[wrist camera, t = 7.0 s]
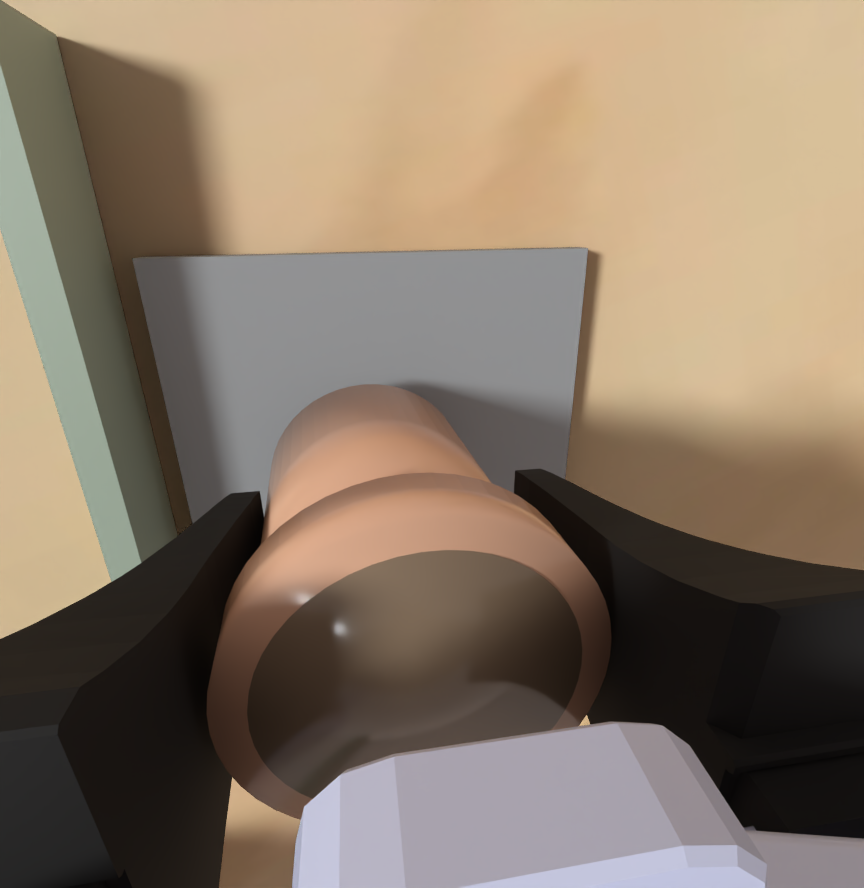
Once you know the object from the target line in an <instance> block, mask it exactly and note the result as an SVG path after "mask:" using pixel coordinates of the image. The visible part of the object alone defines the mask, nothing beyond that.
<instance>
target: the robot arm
mask: <svg viewBox="0 0 864 888" xmlns="http://www.w3.org/2000/svg"><path fill="white" fill-rule="evenodd" d="M514 494H516V495H518V496H520V497H521V498H522V499H524V500H525V501H527V502H528V503H529V504H531V505H532V506H533V507H535V508H536V509H537V510H538V511H539V512H540V513H541V514H542V515H543V516H544V517H545V518H546V519H547V520H548V521H549V522H550V523H551V524H552V526H553V527H554V528H555V529H556V531H557V532H558V533H559V534H560V536H561V537H562V538H563V539H564V540H565V542H566V543H567V544H568V545H569V547H570V548H571V549H572V550H573V552H574V553H575V554H576V555H577V557H578V558H579V559H580V560H581V562H582V563H583V564H584V565H585V566H586V568H587V569H588V571H589V572H590V573H591V575H592V576H593V578H594V579H595V581H596V582H597V583H598V586H599V588H600V590H601V592H602V594H603V597H604V599H605V601H606V605H607V609H608V613H609V617H610V624H611V637H612V639H611V650H610V658H609V663H608V667H607V671H606V675H605V678H604V680H603V683H602V685H601V688H600V691H599V693H598V695H597V697H596V699H595V701H594V703H593V704H592V706H591V708H590V710H589V712H588V713H587V716H588V719H589V721H590V724H591V725H584V726H577V727H571V728H564V729H557V730H551V731H544V732H537V733H531V734H524V735H517V736H510V737H504V738H497V739H490V740H484V741H477V742H470V743H464V744H457V745H450V746H444V747H437V748H430V749H424V750H417V751H410V752H403V753H397V754H392V755H389V756H386V757H383V758H380V759H377V760H374V761H371V762H368V763H365V764H362V765H359V766H356V767H353V768H350V769H347V770H346V771H344V772H343V773H342V774H341V775H339V776H338V777H337V778H336V779H335V780H334V781H333V782H332V783H330V784H329V785H328V786H327V787H326V788H325V789H324V790H322V791H321V792H320V793H319V794H318V795H317V796H316V797H315V798H313V799H312V800H311V801H310V802H309V803H308V804H307V805H305V806H304V809H303V813H302V818H301V822H300V826H299V830H298V834H297V838H296V844H295V856H294V869H293V881H292V888H864V570H856V569H849V568H842V567H834V566H827V565H819V564H812V563H806V562H801V561H796V560H791V559H785V558H780V557H775V556H770V555H765V554H761V553H756V552H752V551H748V550H743V549H739V548H736V547H732V546H728V545H724V544H721V543H717V542H713V541H710V540H706V539H703V538H700V537H696V536H693V535H690V534H687V533H684V532H681V531H679V530H676V529H673V528H670V527H667V526H664V525H662V524H659V523H656V522H654V521H651V520H649V519H646V518H644V517H642V516H639V515H637V514H635V513H633V512H630V511H628V510H626V509H623V508H621V507H619V506H617V505H615V504H613V503H611V502H608V501H606V500H604V499H602V498H600V497H598V496H596V495H594V494H592V493H590V492H588V491H586V490H585V489H583V488H581V487H579V486H577V485H575V484H573V483H571V482H569V481H567V480H565V479H563V478H561V477H559V476H557V475H555V474H553V473H551V472H548V471H546V470H543V469H527V470H515V479H514ZM263 523H264V514H263V508H262V501H261V495H260V491H253V492H240V493H231V494H229V495H228V496H226V497H225V498H223V499H222V500H221V501H220V502H218V503H217V504H216V505H215V506H214V507H212V508H211V509H210V510H209V511H208V512H206V513H205V514H204V515H203V516H202V517H200V518H199V519H198V520H197V521H195V522H194V523H193V524H192V525H191V526H189V527H188V528H187V529H186V530H184V531H183V532H182V533H181V534H179V535H178V536H177V537H176V538H174V539H173V540H172V541H170V542H169V543H168V544H166V545H165V546H163V547H162V548H161V549H159V550H158V551H157V552H155V553H154V554H153V555H151V556H150V557H149V558H147V559H146V560H144V561H143V562H142V563H140V564H139V565H137V566H136V567H134V568H133V569H131V570H130V571H128V572H127V573H125V574H124V575H122V576H121V577H119V578H117V579H116V580H114V581H112V582H111V583H109V584H107V585H106V586H104V587H102V588H101V589H99V590H98V591H96V592H94V593H92V594H91V595H89V596H87V597H85V598H83V599H81V600H79V601H78V602H76V603H74V604H72V605H70V606H68V607H66V608H64V609H62V610H60V611H58V612H56V613H54V614H52V615H50V616H48V617H47V618H45V619H43V620H41V621H39V622H37V623H35V624H33V625H31V626H28V627H26V628H24V629H22V630H20V631H17V632H15V633H13V634H11V635H9V636H6V637H4V638H2V639H0V888H219V879H220V871H221V862H222V853H223V844H224V836H225V827H226V819H227V811H228V804H229V796H230V789H231V781H232V776H231V775H230V773H229V772H228V771H227V770H226V768H225V766H224V765H223V763H222V761H221V760H220V758H219V757H218V755H217V753H216V750H215V747H214V745H213V742H212V739H211V737H210V733H209V727H208V720H207V714H206V713H207V690H208V686H209V681H210V676H211V671H212V666H213V661H214V656H215V652H216V647H217V642H218V637H219V632H220V627H221V623H222V618H223V614H224V609H225V605H226V602H227V600H228V597H229V595H230V592H231V590H232V587H233V585H234V583H235V581H236V579H237V578H238V576H239V574H240V573H241V571H242V569H243V567H244V566H245V564H246V563H247V561H248V560H249V559H250V558H251V556H252V555H253V554H254V553H255V551H256V550H257V549H258V548H259V546H260V545H261V538H262V530H263Z"/></svg>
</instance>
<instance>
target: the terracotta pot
mask: <svg viewBox="0 0 864 888" xmlns="http://www.w3.org/2000/svg"><path fill="white" fill-rule="evenodd" d="M611 639H612V637H611V624H610V617H609V613H608V609H607V605H606V601H605V599H604V597H603V594H602V592H601V590H600V588H599V586H598V583H597V582H596V581H595V579H594V578H593V576H592V575H591V573H590V572H589V571H588V569H587V568H586V566H585V565H584V564H583V563H582V562H581V560H580V559H579V558H578V557H577V555H576V554H575V553H574V552H573V550H572V549H571V548H570V547H569V545H568V544H567V543H566V542H565V540H564V539H563V538H562V537H561V536H560V534H559V533H558V532H557V531H556V529H555V528H554V527H553V526H552V524H551V523H550V522H549V521H548V520H547V519H546V518H545V517H544V516H543V515H542V514H541V513H540V512H539V511H538V510H537V509H536V508H535V507H533V506H532V505H531V504H529V503H528V502H527V501H525V500H524V499H522V498H521V497H520V496H518V495H516V494H514V493H512V492H510V491H508V490H506V489H504V488H502V487H500V486H498V485H495V484H492V483H491V481H490V480H489V479H488V477H487V476H486V474H485V473H484V472H483V470H482V469H481V467H480V466H479V464H478V463H477V462H476V460H475V459H474V457H473V456H472V455H471V453H470V452H469V450H468V449H467V447H466V446H465V445H464V443H463V442H462V440H461V439H460V438H459V436H458V435H457V433H456V432H455V431H454V429H453V428H452V426H451V425H450V423H449V422H448V421H447V419H446V418H445V417H444V415H443V414H442V413H441V412H440V411H439V410H438V409H437V408H436V407H435V406H433V405H432V404H431V403H429V402H428V401H427V400H425V399H424V398H422V397H420V396H418V395H417V394H415V393H412V392H410V391H407V390H405V389H402V388H398V387H393V386H388V385H380V384H363V385H356V386H350V387H346V388H342V389H339V390H336V391H333V392H331V393H328V394H326V395H324V396H322V397H320V398H319V399H317V400H315V401H313V402H312V403H311V404H309V405H308V406H307V407H305V408H304V409H303V410H302V411H301V412H300V413H299V414H298V415H296V416H295V417H294V418H293V420H292V421H291V422H290V423H289V425H288V426H287V427H286V429H285V430H284V432H283V434H282V435H281V437H280V439H279V441H278V443H277V446H276V449H275V451H274V455H273V459H272V464H271V471H270V479H269V486H268V493H267V501H266V508H265V515H264V523H263V530H262V538H261V545H260V546H259V548H258V549H257V550H256V551H255V553H254V554H253V555H252V556H251V558H250V559H249V560H248V561H247V563H246V564H245V566H244V567H243V569H242V571H241V573H240V574H239V576H238V578H237V579H236V581H235V583H234V585H233V587H232V590H231V592H230V595H229V597H228V600H227V602H226V605H225V609H224V614H223V618H222V623H221V627H220V632H219V637H218V642H217V647H216V652H215V656H214V661H213V666H212V671H211V676H210V681H209V686H208V690H207V713H206V714H207V720H208V727H209V733H210V737H211V739H212V742H213V745H214V747H215V750H216V753H217V755H218V757H219V758H220V760H221V761H222V763H223V765H224V766H225V768H226V770H227V771H228V772H229V773H230V775H231V776H232V777H233V778H234V779H235V780H236V781H237V783H238V784H239V785H240V786H241V787H242V788H244V789H245V790H246V791H247V792H249V793H250V794H251V795H252V796H254V797H255V798H256V799H258V800H259V801H261V802H263V803H264V804H266V805H268V806H270V807H271V808H273V809H275V810H277V811H280V812H282V813H284V814H287V815H289V816H292V817H294V818H297V819H301V818H302V813H303V809H304V806H305V805H307V804H308V803H309V802H310V801H311V800H312V799H313V798H315V797H316V796H317V795H318V794H319V793H320V792H321V791H322V790H324V789H325V788H326V787H327V786H328V785H329V784H330V783H332V782H333V781H334V780H335V779H336V778H337V777H338V776H339V775H341V774H342V773H343V772H344V771H346V770H347V769H350V768H353V767H356V766H359V765H362V764H365V763H368V762H371V761H374V760H377V759H380V758H383V757H386V756H389V755H392V754H397V753H403V752H410V751H417V750H424V749H430V748H437V747H444V746H450V745H457V744H464V743H470V742H477V741H484V740H490V739H497V738H504V737H510V736H517V735H524V734H531V733H537V732H544V731H551V730H557V729H564V728H571V727H577V726H579V725H580V723H581V722H582V720H583V719H584V717H585V716H586V715H587V713H588V712H589V710H590V708H591V706H592V704H593V703H594V701H595V699H596V697H597V695H598V693H599V691H600V688H601V685H602V683H603V680H604V678H605V675H606V671H607V667H608V663H609V658H610V650H611Z"/></svg>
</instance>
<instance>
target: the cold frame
mask: <svg viewBox="0 0 864 888" xmlns="http://www.w3.org/2000/svg"><path fill="white" fill-rule="evenodd" d="M0 230H1V233H2V236H3V239H4V243H5V246H6V249H7V252H8V255H9V258H10V262H11V265H12V268H13V271H14V274H15V277H16V281H17V284H18V287H19V290H20V293H21V296H22V300H23V303H24V306H25V309H26V312H27V316H28V319H29V322H30V325H31V328H32V331H33V335H34V338H35V341H36V344H37V347H38V350H39V354H40V357H41V360H42V363H43V366H44V369H45V373H46V376H47V379H48V382H49V385H50V388H51V392H52V395H53V398H54V401H55V404H56V407H57V411H58V414H59V417H60V420H61V423H62V426H63V430H64V433H65V436H66V439H67V442H68V445H69V449H70V452H71V455H72V458H73V461H74V464H75V468H76V471H77V474H78V477H79V480H80V483H81V487H82V490H83V493H84V496H85V499H86V502H87V506H88V509H89V512H90V515H91V518H92V521H93V525H94V528H95V531H96V534H97V537H98V540H99V544H100V547H101V550H102V553H103V556H104V559H105V563H106V566H107V569H108V572H109V575H110V578H111V582H112V581H114V580H116V579H117V578H119V577H121V576H122V575H124V574H125V573H127V572H128V571H130V570H131V569H133V568H134V567H136V566H137V565H139V564H140V563H142V562H143V561H144V560H146V559H147V558H149V557H150V556H151V555H153V554H154V553H155V552H157V551H158V550H159V549H161V548H162V547H163V546H165V545H166V544H168V543H169V542H170V541H172V540H173V539H174V538H176V537H177V536H178V534H177V530H176V526H175V522H174V518H173V514H172V510H171V506H170V502H169V497H168V493H167V489H166V485H165V481H164V477H163V473H162V469H161V465H160V460H159V456H158V452H157V448H156V444H155V440H154V436H153V432H152V427H151V423H150V419H149V415H148V411H147V407H146V403H145V399H144V395H143V390H142V386H141V382H140V378H139V374H138V370H137V366H136V362H135V358H134V353H133V349H132V345H131V341H130V337H129V333H128V329H127V325H126V321H125V316H124V312H123V308H122V304H121V300H120V296H119V292H118V288H117V284H116V279H115V275H114V271H113V267H112V263H111V259H110V255H109V251H108V247H107V242H106V238H105V234H104V230H103V226H102V222H101V218H100V214H99V209H98V205H97V201H96V197H95V193H94V189H93V185H92V181H91V177H90V172H89V168H88V164H87V160H86V156H85V152H84V148H83V144H82V140H81V135H80V131H79V127H78V123H77V119H76V115H75V111H74V107H73V103H72V98H71V94H70V90H69V86H68V82H67V78H66V74H65V70H64V66H63V61H62V57H61V53H60V49H59V45H58V41H57V37H56V35H55V34H54V33H52V32H50V31H49V30H47V29H46V28H44V27H43V26H41V25H39V24H38V23H36V22H35V21H33V20H31V19H30V18H28V17H27V16H25V15H24V14H22V13H20V12H19V11H17V10H16V9H14V8H13V7H11V6H9V5H8V4H6V3H5V2H3V1H1V0H0Z"/></svg>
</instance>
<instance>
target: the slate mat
mask: <svg viewBox="0 0 864 888" xmlns="http://www.w3.org/2000/svg"><path fill="white" fill-rule="evenodd" d="M587 255H588V248H582V247H563V248H517V249H472V250H426V251H381V252H336V253H290V254H245V255H199V256H154V257H138V258H132V260H133V265H134V269H135V273H136V278H137V282H138V286H139V291H140V295H141V300H142V304H143V308H144V313H145V317H146V322H147V326H148V330H149V335H150V339H151V344H152V348H153V352H154V357H155V361H156V366H157V370H158V374H159V379H160V383H161V388H162V392H163V396H164V401H165V405H166V410H167V414H168V418H169V423H170V427H171V432H172V436H173V440H174V445H175V449H176V454H177V458H178V462H179V467H180V471H181V476H182V480H183V484H184V489H185V493H186V497H187V502H188V506H189V511H190V515H191V519H192V524H193V523H194V522H195V521H197V520H198V519H199V518H200V517H202V516H203V515H204V514H205V513H206V512H208V511H209V510H210V509H211V508H212V507H214V506H215V505H216V504H217V503H218V502H220V501H221V500H222V499H223V498H225V497H226V496H228V495H229V494H231V493H240V492H253V491H260V495H261V501H262V508H263V514H264V515H265V508H266V501H267V493H268V486H269V479H270V471H271V464H272V459H273V455H274V451H275V449H276V446H277V443H278V441H279V439H280V437H281V435H282V434H283V432H284V430H285V429H286V427H287V426H288V425H289V423H290V422H291V421H292V420H293V418H294V417H295V416H296V415H298V414H299V413H300V412H301V411H302V410H303V409H304V408H305V407H307V406H308V405H309V404H311V403H312V402H313V401H315V400H317V399H319V398H320V397H322V396H324V395H326V394H328V393H331V392H333V391H336V390H339V389H342V388H346V387H350V386H356V385H363V384H380V385H388V386H393V387H398V388H402V389H405V390H407V391H410V392H412V393H415V394H417V395H418V396H420V397H422V398H424V399H425V400H427V401H428V402H429V403H431V404H432V405H433V406H435V407H436V408H437V409H438V410H439V411H440V412H441V413H442V414H443V415H444V417H445V418H446V419H447V421H448V422H449V423H450V425H451V426H452V428H453V429H454V431H455V432H456V433H457V435H458V436H459V438H460V439H461V440H462V442H463V443H464V445H465V446H466V447H467V449H468V450H469V452H470V453H471V455H472V456H473V457H474V459H475V460H476V462H477V463H478V464H479V466H480V467H481V469H482V470H483V472H484V473H485V474H486V476H487V477H488V479H489V480H490V481H491V483H492V484H495V485H498V486H500V487H502V488H504V489H506V490H508V491H510V492H512V493H514V479H515V470H527V469H543V470H546V471H548V472H551V473H553V474H555V475H557V476H559V477H561V478H563V479H565V475H566V465H567V455H568V445H569V435H570V425H571V415H572V405H573V395H574V385H575V375H576V365H577V355H578V345H579V335H580V325H581V315H582V305H583V295H584V285H585V275H586V265H587Z"/></svg>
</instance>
